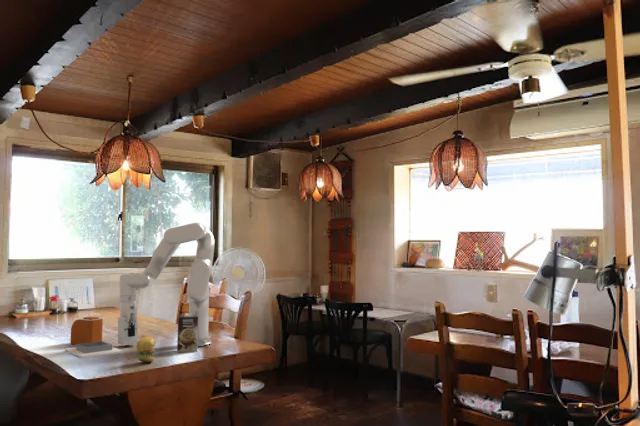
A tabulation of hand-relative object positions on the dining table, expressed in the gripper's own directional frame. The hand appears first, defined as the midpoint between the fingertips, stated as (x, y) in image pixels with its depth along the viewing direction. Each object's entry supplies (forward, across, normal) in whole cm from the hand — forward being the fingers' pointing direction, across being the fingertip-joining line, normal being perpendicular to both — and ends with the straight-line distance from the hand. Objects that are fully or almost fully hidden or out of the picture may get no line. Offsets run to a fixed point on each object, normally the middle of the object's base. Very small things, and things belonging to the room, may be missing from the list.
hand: (127, 335), depth 251 cm
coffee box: (+6, -31, -15) cm, 35 cm away
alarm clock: (+5, +19, +13) cm, 24 cm away
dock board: (+5, -2, +17) cm, 17 cm away
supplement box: (+4, 0, 0) cm, 4 cm away
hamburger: (+6, -42, +10) cm, 43 cm away
